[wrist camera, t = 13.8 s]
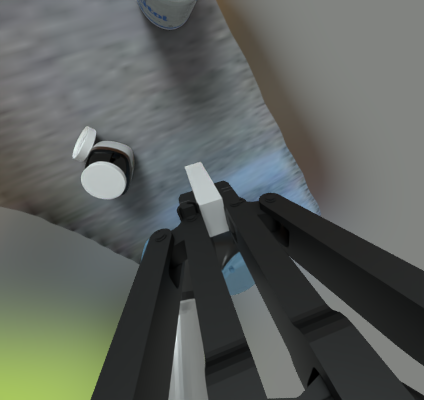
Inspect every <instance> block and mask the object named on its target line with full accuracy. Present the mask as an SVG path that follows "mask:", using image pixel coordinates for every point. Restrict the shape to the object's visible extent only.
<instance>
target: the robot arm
mask: <svg viewBox="0 0 424 400" xmlns="http://www.w3.org/2000/svg"><path fill="white" fill-rule="evenodd" d="M185 169H186V172H187V175H188V178H189V181H190V184H191V187H192V190H193V191H191V192H187V193H184V194H181V195H180V197H179V203H180V206H179V207H178V208H177V213H178V215H179V218H180V220H181V223H180V225H179V226H178V227H176V228H175V229H173V230H172V231H170V230H169V229H160V230H158V231H156V232H154V233H153V234H152V235H151V237H150V238H149V239H148V240H147V242H146V244H145V246H144V249H143V253H142V258H141V263H140V266H139V268H138V271H137V274H136V277H135V279H134V282H133V285H132V288H131V290H130V293H129V296H128V299H127V302H126V304H125V307H124V310H123V312H122V315H121V318H120V321H119V323H118V326H117V329H116V332H115V335H114V337H113V340H112V343H111V345H110V348H109V351H108V353H107V356H106V359H105V362H104V364H103V367H102V370H101V373H100V376H99V378H98V381H97V384H96V386H95V389H94V392H93V395H92V397H91V400H424V395H422V394H420V393H419V392H417V391H415V390H414V389H412V388H411V387H409V386H407V385H406V384H404V383H402V382H401V381H399V379H398V378H397V377H396V376H395V375H394V373H393V372H392V371H391V370H390V368H389V367H388V366H387V365H386V364H385V362H384V361H383V360H382V359H381V358H380V356H379V355H378V354H377V353H376V351H375V350H374V349H373V348H372V347H371V345H370V344H369V343H368V342H367V341H366V339H365V338H364V337H363V336H362V335H361V334H360V332H359V331H358V330H357V329H356V327H355V326H354V325H353V324H352V323H351V322H350V321H349V320H348V318H347V317H345V316H344V315H343V314H342V313H340V312H337V311H334V310H332V309H331V308H330V307H329V306H328V305H327V304H326V303H325V301H324V300H323V299H322V298H321V296H320V295H319V294H318V293H317V291H316V290H315V289H314V288H313V286H312V285H311V284H310V283H309V281H308V280H307V279H306V277H305V276H304V275H303V273H302V272H301V271H300V269H299V268H298V267H297V266H296V264H295V263H294V262H293V261H292V259H293V260H295V261H296V262H297V263H298V264H299V265H301V266H302V267H303V268H304V269H305V270H307V271H308V272H309V273H310V274H311V275H313V276H314V277H315V278H316V279H318V280H319V281H320V282H321V283H322V284H324V285H325V286H326V287H327V288H328V289H329V290H331V291H332V292H333V293H334V294H335V295H337V296H338V297H339V298H340V299H342V300H343V301H344V302H345V303H346V304H347V305H349V306H350V307H351V308H352V309H353V310H355V311H356V312H357V313H358V314H360V315H361V316H362V317H363V318H364V319H365V320H367V321H368V322H369V323H370V324H372V325H373V326H374V327H375V328H376V329H378V330H379V331H380V332H381V333H382V334H383V335H385V336H386V337H387V338H388V339H390V340H391V341H392V342H393V343H394V344H395V345H397V346H398V347H399V348H401V349H402V350H403V351H405V352H406V353H407V354H408V355H410V356H411V357H412V358H413V359H415V360H416V361H418V362H419V363H420V364H422V365H423V366H424V271H423V270H421V269H419V268H417V267H415V266H413V265H411V264H410V263H408V262H406V261H404V260H402V259H400V258H398V257H396V256H394V255H393V254H391V253H389V252H387V251H385V250H383V249H381V248H379V247H377V246H375V245H373V244H372V243H370V242H368V241H366V240H364V239H362V238H360V237H358V236H356V235H355V234H353V233H351V232H349V231H347V230H345V229H343V228H341V227H339V226H337V225H335V224H334V223H332V222H330V221H328V220H326V219H324V218H322V217H320V216H318V215H317V214H315V213H313V212H311V211H309V210H307V209H305V208H303V207H301V206H299V205H298V204H296V203H294V202H292V201H290V200H288V199H286V198H284V197H282V196H281V195H279V194H276V193H266V194H263V195H262V196H260V198H259V201H255V202H246V200H245V199H243V198H240V197H238V195H237V194H236V193H235V191H234V190H233V189H232V187H231V186H230V185H229V183H228V182H226V181H220V182H217V183H214V184H213V182H212V180H211V178H210V177H209V175H208V173H207V172H206V170H205V168H204V166H203V165H202V163H201V162H198V163H195V164H192V165H189V166H185ZM289 256H290V257H291V258H292V259H291V258H290V257H289ZM254 284H256V286H257V288H258V290H259V292H260V294H261V296H262V298H263V300H264V302H265V304H266V306H267V308H268V310H269V312H270V314H271V316H272V318H273V320H274V322H275V324H276V326H277V328H278V330H279V332H280V334H281V336H282V338H283V340H284V342H285V344H286V346H287V348H288V351H289V353H290V355H291V358H292V361H293V364H294V367H295V369H296V372H297V374H298V376H299V378H300V380H301V382H302V384H303V387H304V388H305V391H304V392H303V393H302V394H301V395H300V396H299V397H297V398H278V399H277V398H276V399H267V396H266V394H265V391H264V388H263V385H262V382H261V379H260V377H259V374H258V371H257V368H256V365H255V363H254V360H253V357H252V354H251V352H250V349H249V347H248V344H247V341H246V338H245V336H244V333H243V330H242V327H241V324H240V321H239V319H238V316H237V313H236V310H235V308H234V304H233V302H232V299H231V296H230V295H236V294H239V293H241V292H243V291H246V290H247V289H249V288H250V287H252V286H253V285H254ZM204 355H205V359H204Z"/></svg>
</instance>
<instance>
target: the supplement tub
mask: <svg viewBox="0 0 424 400" xmlns="http://www.w3.org/2000/svg"><path fill="white" fill-rule="evenodd" d="M196 1H197V0H137V2H138V5H139V7H140V8H141V10H142V12H143V13H144V15H145V16H146V17H147V18H148V19H149V20H150V21H151V22H152V23H153V24H155V25H156V26H158V27H160V28H163V29H166V30H173V29H177V28H179V27H181V26H182V25H183V24H184V23H185V22H186V21H187V19H188V18H189V16H190V14H191V12H192V10H193V8H194V6H195V3H196Z"/></svg>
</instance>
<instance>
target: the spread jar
mask: <svg viewBox="0 0 424 400" xmlns="http://www.w3.org/2000/svg"><path fill="white" fill-rule="evenodd" d="M95 137H96V130H94V129H93V128H91V127H89V126H86V127H85V128H84V130H83V131H82V133H81V134H80V136H79V138H78V140H77V143H76V145H75V148H74V151H73V159H75V160H78V161H81V162H82V161H84V160H85V159H86V157H87V159H86V164H85V170H84V171H83V173H82V176H81V182H82V185H83V187H84V188H85V190H86V191H87V192H88V193H89V194H91V195H92V196H94V197H97V198H100V199H113V198H116V197H118V196H120V195H124V194H125V193H126V192H127V191H128V189H129V186H130V183H131V179H132V175H133V171H134V154H133V151H132V149H131V148H130V147H129V146H127V145H125V144H122V143H119V142H114V141H101V142H98V143H97V144H96V145H94V146H93V144H94V141H95ZM92 146H93V147H92Z"/></svg>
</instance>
